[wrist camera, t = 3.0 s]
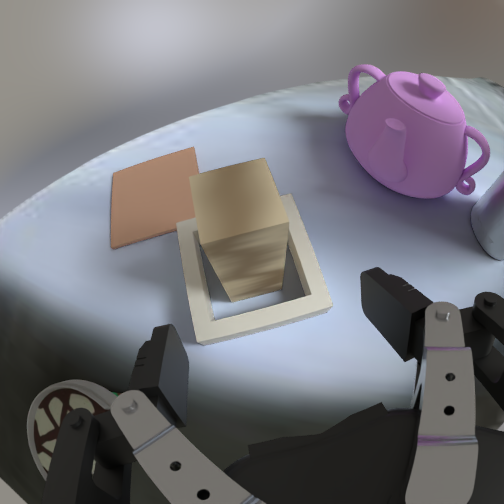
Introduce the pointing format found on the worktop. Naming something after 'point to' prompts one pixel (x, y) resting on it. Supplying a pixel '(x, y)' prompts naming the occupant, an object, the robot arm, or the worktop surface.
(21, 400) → the worktop surface
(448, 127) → the teapot
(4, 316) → the worktop surface
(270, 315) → the collar frame
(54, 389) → the cream brown half-disc piece
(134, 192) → the mat
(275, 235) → the beech block
